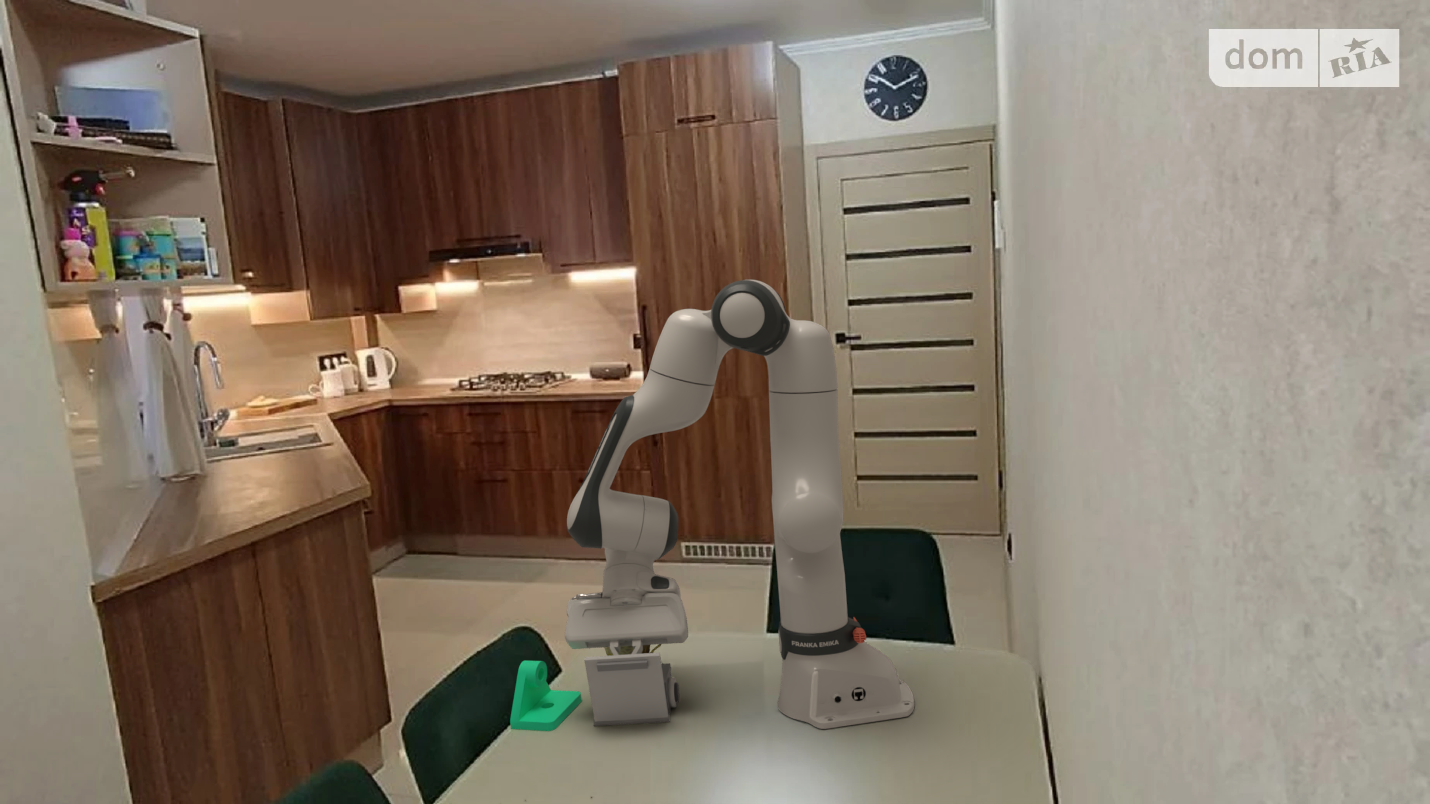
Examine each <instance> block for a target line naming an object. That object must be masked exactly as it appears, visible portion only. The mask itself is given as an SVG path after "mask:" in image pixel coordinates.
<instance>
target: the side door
mask: <svg viewBox="0 0 1430 804" xmlns="http://www.w3.org/2000/svg"><path fill="white" fill-rule="evenodd" d="M661 659H662V658H661V652H653V653H644V654H628V655H612V656H607V655H598V656H597V655H596V656H584V659H583V660H584V661H583V662H584V666H585V671H586V677H587V684H588V685H587V686H588V691H589V695H590V701H591V706H592V712H593V726H594V727H603V726H604V727H605V726H620V725H621V726H623V725H635V724H636V725H637V724H638V725H639V724H653V723H654V724H655V723H656V724H658V723H669V722H670V720H671V714H670V715H668V709H667V701H666V694H665V687H664V679H663V672H662V664H663V663H662V660H661Z"/></svg>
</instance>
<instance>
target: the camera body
mask: <svg viewBox="0 0 1430 804" xmlns="http://www.w3.org/2000/svg"><path fill="white" fill-rule="evenodd" d="M661 664H662V672H663V679H664V687H665V694H666V701H667V709H668V715H670V716H671V709H672V708H677V704H678V703H679V702H680V685H679V682H678V681H677V680H676V677H675V676H674V677H673V676H672V667H671V663H670V662H667V663H661Z"/></svg>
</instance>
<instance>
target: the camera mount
mask: <svg viewBox="0 0 1430 804" xmlns="http://www.w3.org/2000/svg"><path fill="white" fill-rule="evenodd" d="M547 679H548V666H547V663H546V662H545V661H544V660H523V661H521V663H520V665H519V667H518V671H517V676H516V683H515V688H514V689H515V690H514V695H513V701H512V707H511V714H510V720H509V723H510V729H511V730H523V731H527V730H528V731H537V732H538V731H540V732H552V731H554V730H556V729H557V728H558V727H559V726H560V725H561V724H562V723H563V722H564V721H565V720H566V718H567V717H568V716H569V715H570V714H571V713H573V712H574V710H575V709H576V708H577V707H578V706H579V705H580V704H581V703H582V701H583V700H582V693H581V692H580V691H577V690H562V689H560V690H559V689H558V690H557V689H556V690H555V689H551V688H550V686H549V684H548V682H547Z"/></svg>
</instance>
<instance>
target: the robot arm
mask: <svg viewBox="0 0 1430 804" xmlns="http://www.w3.org/2000/svg"><path fill="white" fill-rule="evenodd" d="M711 305H712V306H711V309H710V310H709V309H708V310H701V309H698V308H696V309H695V308H684V309H678V310H676V311H674V312H673V313H672V314H670V315H669V317H667V319H666V321H665V323H664V326H663V328H662V331H661V333H660V335H659V337H658V340H657V343H656V344H655V345H656V346H655V349H654V352H653V355H652V358H651V361H650V365H649V370H648V372H647V376H646V378H645V379H644V381H643V383H642V385H641V386H639V388H638V389H637V390H636V391H635V393H632V394H631V395H628V396H624V398H623V399H622V400H621V401H620V402H619V404H618V405H617V407H616V409H615V410H614V412H613V414H612V416H611V418H610V421H609V422H608V425H607V427H606V429H605V431H604V433H603V436H602V438H601V440H600V442H599V445H598V447H597V448H596V451H595V454H594V456H593V458H592V460H591V463H590V465H589V467H588V469H587V472H586V474H585V476H584V479H583V481H582V483H581V485H580V486H579V488H578V490H577V492H576V493H575V496H574V498H573V499H572V502H571V503H570V506H569V509H568V510H567V516H566V517H567V518H566V530H567V532H568V534H569V535H570V537H571V538H572V539H573V541H574V542H576V544H578V546H580V547H581V548H587V549H604V556H605V560H606V563H605V566H604V569H603V575H602V592H592V593H578V594H576V595H575V596H573V597H571V598H570V599H569V600H568V602H567V604H566V615H567V620H566V625H565V630H564V631H565V632H564V639H565V642H566V643H567V645H568V646H569V647H570V648H571V649H572V650H581V649H583V650H584V649H597V648H604V647H610V650H611V652H612V654H613V655H618V653H617V652H620V647H621V646H633V649H634V650H633V652H632V654H641V653H642V651H643V645H650V646H653V645H659V644H661V645H669V644H682V643H683V644H685V642H686V641H687V639H688V637H689V626H688V625H689V624H688V620H687V619H688V618H687V614H686V613H687V612H686V609H685V606H684V603H683V600H682V598H681V596H682V595H681V590H680V586H679V584H678V581H677V580H676V579H674V578H672V577H669V576H666V575H665V576H664V575H660V574H656V573H655V569H654V562H655V561H656V560H660V559H662V558H663V557H664V556H666V555H667V554H668V553H669V552H670V551H672V550H673V549H674V547H675V546H676V545H677V541H678V536H679V514H678V512H677V510H676V508H675V507H674V505H673V504H672V503H671V501H669V500H666V499H663V498H659V497H656V496H655V497H653V496H649V495H643V494H635V493H630V492H629V493H628V492H623V491H617V490H613V489H611V486H612V484H613V481H614V480H615V476H616V475H617V472H618V470H619V467H620V466H621V464H622V460H623V459H624V456H625V454H626V452H627V450H628V449H629V447H630V446H631V445H632V444H634V443H635V442H637V441H638V440H640V439H642V438H645V437H648V436H652V435H656V434H661V433H668V432H674V431H678V430H681V429H684V428H687V427H689V426H691V425H693V424H694V423H696V422H697V421H698V420H700V419H701V418H703V416H704V415H705V414H706V411H707V409H708V407H709V404H710V402H711V399H712V396H713V393H714V388H715V384H716V380H717V377H718V373H719V370H720V365H721V363H722V361H723V358H724V356H725V355H726V354H727V352H728V351H730V350H732V349H737V350H740V351H744V352H748V353H753V354H755V355H758V356H763V357H764V359H765V362H766V365H767V370H768V371H767V372H768V374H767V375H768V399H769V400H768V402H769V403H768V405H769V406H768V407H769V408H768V409H769V410H768V411H769V435H770V437H769V441H770V456H771V457H770V458H771V485H772V488H771V489H772V494H771V509H772V510H771V511H772V521H773V523H772V524H773V535H774V548H775V549H774V550H775V560H776V571H777V572H776V573H777V574H776V575H777V587H778V600H779V601H778V602H779V612H780V621H779V622H778V631H777V632H778V644H779V645H778V646H779V653H780V657H781V659H782V663H781V664H782V666H781V667H782V668H781V682H780V689H779V695H778V697H777V698H778V699H777V702H776V703H777V706H776V707H777V708H778V710H779V711H780V712H781V713H782V714H784V715H785V716H787V717H789V718H791V719H794V720H798V721H801V722H804V723H805V722H806V723H808V724H810V725H811V726H813V727H815V728H818V729H822V730H827V729H833V728H839V727H846V726H853V725H860V724H867V723H873V722H879V721H880V722H881V721H886V720H893V719H900V718H905V717H909V716H910V715H911V714H912V713H913V712H914V709H915V698H914V695H913V691H912V690H911V688H910V686H909V685H908V684H907V683H906V682H905V681H904V680H902V679H900V678H899V676H898V673H897V669H896V668H895V666H894V663H893V662H892V660H891V659H890V658H889V657H888V656H887V655H886V653H884V652H882V651H880V650H878V648H877V649H876V648H875V647H874V646H873V645H871V644H869V643H867V642H866V641H865V640H867V635H866V631H865V629H864V628H862V627H861V624H860V622H858V620H857V619H856V617H855V616H853V618H852V617H849V616H848V604H847V590H846V589H847V588H846V586H847V585H846V574H845V566H844V559H843V551H842V549H843V548H842V541H841V530H842V528H843V524H844V519H845V518H844V514H845V513H844V494H843V480H842V479H843V478H842V465H841V463H842V462H841V449H840V448H841V447H840V439H839V438H840V437H839V397H838V396H839V395H838V394H839V393H838V392H839V391H838V387H839V386H838V373H837V364H836V356H835V351H834V347H833V342H832V337H831V335H830V333H829V330H827V328H825V326H823V325H821V324H819V323H818V322H815V321H811V320H804V319H803V320H802V319H801V320H798V319H793V318H791V317H789V315H788V314H787V312H786V307H785V303H784V301H783V299H782V297H781V295H780V294H779V293H778V292H777V291H776V290H775V288H773V287H772V286H770V285H769V284H767V283H765V282H763V281H761V280H757V279H742V280H736V281H733V282H731V283H729V284H727V285H725V286H724V287H723V288H722V289H721V290H720V291H719V292H718V293H717V295H716V296H715V297H714V300H713V302H712V304H711Z"/></svg>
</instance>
